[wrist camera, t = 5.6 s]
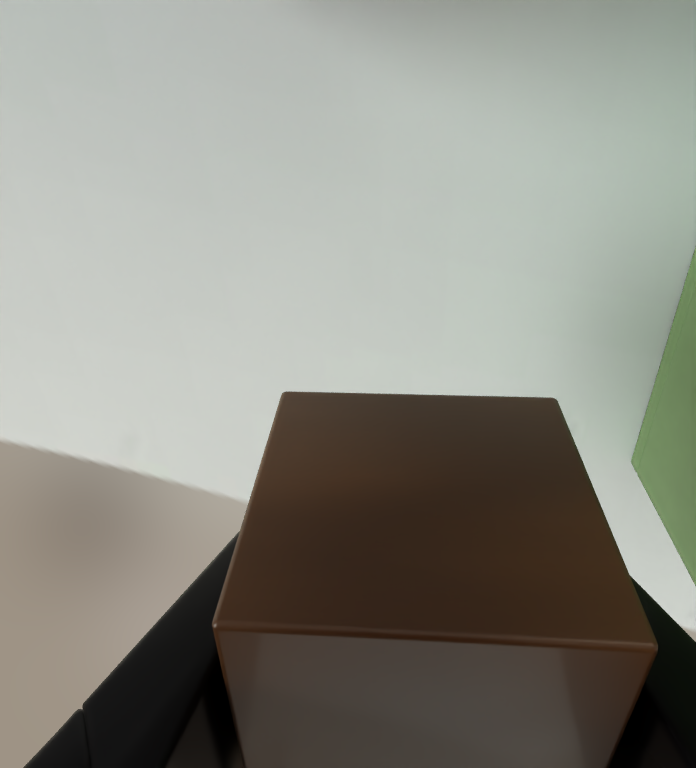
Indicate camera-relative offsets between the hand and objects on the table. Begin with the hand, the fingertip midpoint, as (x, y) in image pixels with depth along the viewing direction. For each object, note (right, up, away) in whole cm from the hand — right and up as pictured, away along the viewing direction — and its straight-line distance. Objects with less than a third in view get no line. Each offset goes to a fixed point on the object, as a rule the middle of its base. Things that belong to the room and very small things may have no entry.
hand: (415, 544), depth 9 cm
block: (0, +1, +1) cm, 1 cm away
